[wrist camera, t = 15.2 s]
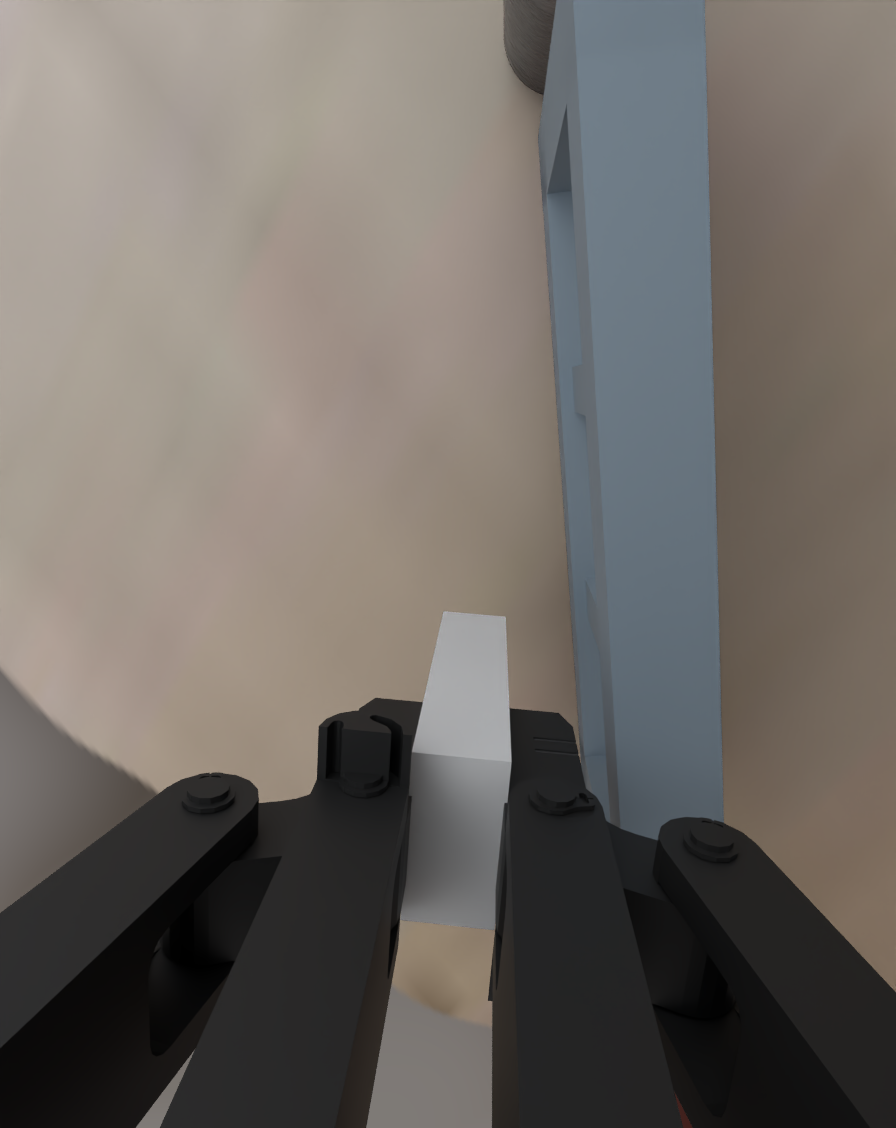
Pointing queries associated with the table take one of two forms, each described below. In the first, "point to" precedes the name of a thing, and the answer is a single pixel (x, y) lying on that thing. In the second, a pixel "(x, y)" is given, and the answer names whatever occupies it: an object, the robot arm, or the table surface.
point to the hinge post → (529, 39)
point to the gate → (636, 399)
